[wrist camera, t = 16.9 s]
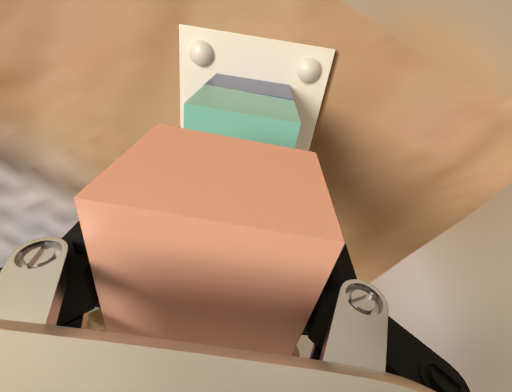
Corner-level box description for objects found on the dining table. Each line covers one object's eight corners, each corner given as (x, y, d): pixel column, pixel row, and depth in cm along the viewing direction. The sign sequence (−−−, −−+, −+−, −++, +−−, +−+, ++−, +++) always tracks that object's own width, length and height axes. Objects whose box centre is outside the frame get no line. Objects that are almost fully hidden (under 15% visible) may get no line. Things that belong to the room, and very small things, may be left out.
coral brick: (281, 261, 13) (284, 369, 9) (161, 241, 13) (109, 344, 9) (315, 152, 10) (345, 242, 6) (157, 123, 10) (73, 197, 6)
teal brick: (276, 178, 21) (277, 216, 17) (200, 165, 21) (182, 201, 17) (294, 100, 18) (300, 123, 14) (204, 84, 18) (183, 103, 14)
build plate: (299, 181, 28) (305, 212, 23) (182, 164, 27) (164, 192, 22) (334, 49, 21) (351, 55, 16) (181, 24, 21) (154, 24, 16)
